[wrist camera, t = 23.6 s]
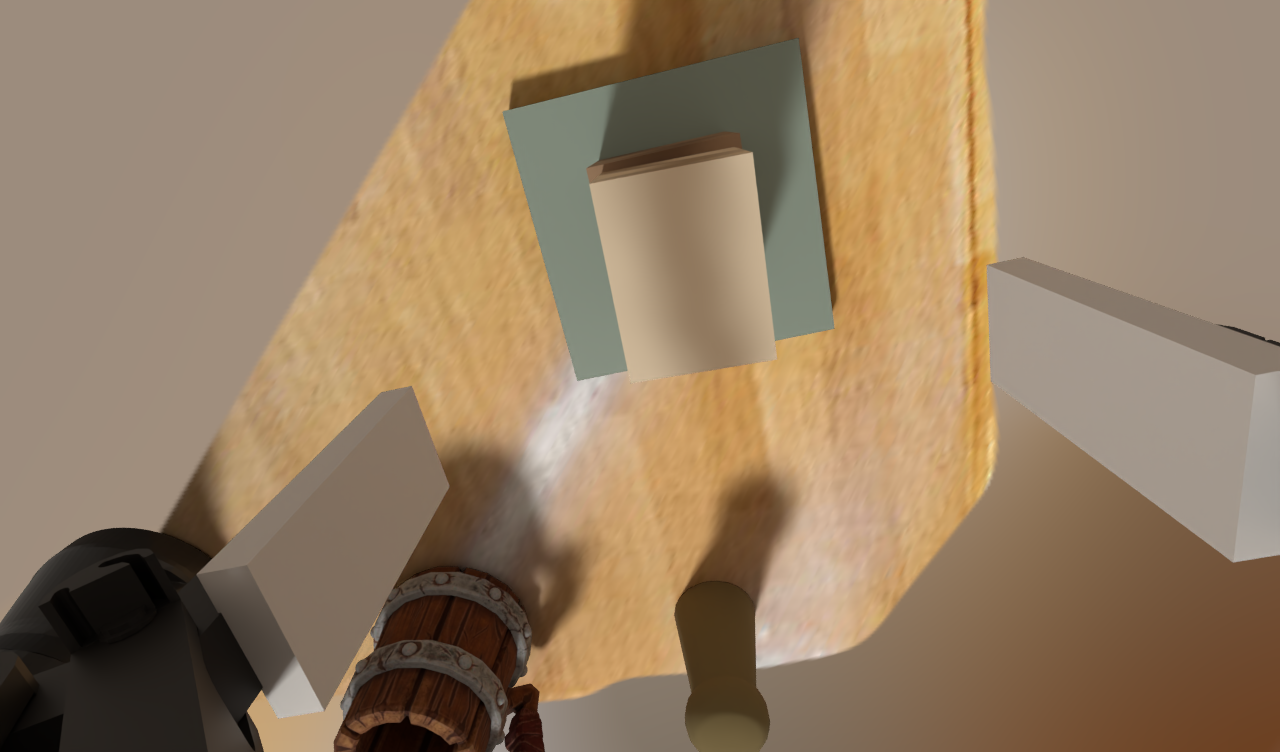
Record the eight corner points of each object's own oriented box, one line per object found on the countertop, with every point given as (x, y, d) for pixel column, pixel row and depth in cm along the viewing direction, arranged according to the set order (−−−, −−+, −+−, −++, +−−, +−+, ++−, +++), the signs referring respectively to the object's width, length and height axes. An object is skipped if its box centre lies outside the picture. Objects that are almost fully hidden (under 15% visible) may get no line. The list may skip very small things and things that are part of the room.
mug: (423, 524, 46) (370, 718, 33) (585, 600, 51) (596, 794, 38) (344, 625, 50) (268, 837, 36) (504, 687, 55) (488, 892, 42)
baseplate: (579, 372, 42) (577, 380, 41) (508, 112, 36) (502, 111, 35) (828, 321, 40) (834, 328, 39) (792, 41, 35) (798, 37, 33)
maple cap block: (634, 338, 32) (630, 383, 27) (601, 172, 29) (589, 184, 24) (755, 317, 32) (777, 359, 26) (734, 146, 29) (752, 152, 23)
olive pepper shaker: (739, 571, 47) (763, 694, 37) (765, 632, 49) (793, 765, 39) (662, 594, 48) (664, 721, 38) (690, 653, 50) (699, 789, 40)
